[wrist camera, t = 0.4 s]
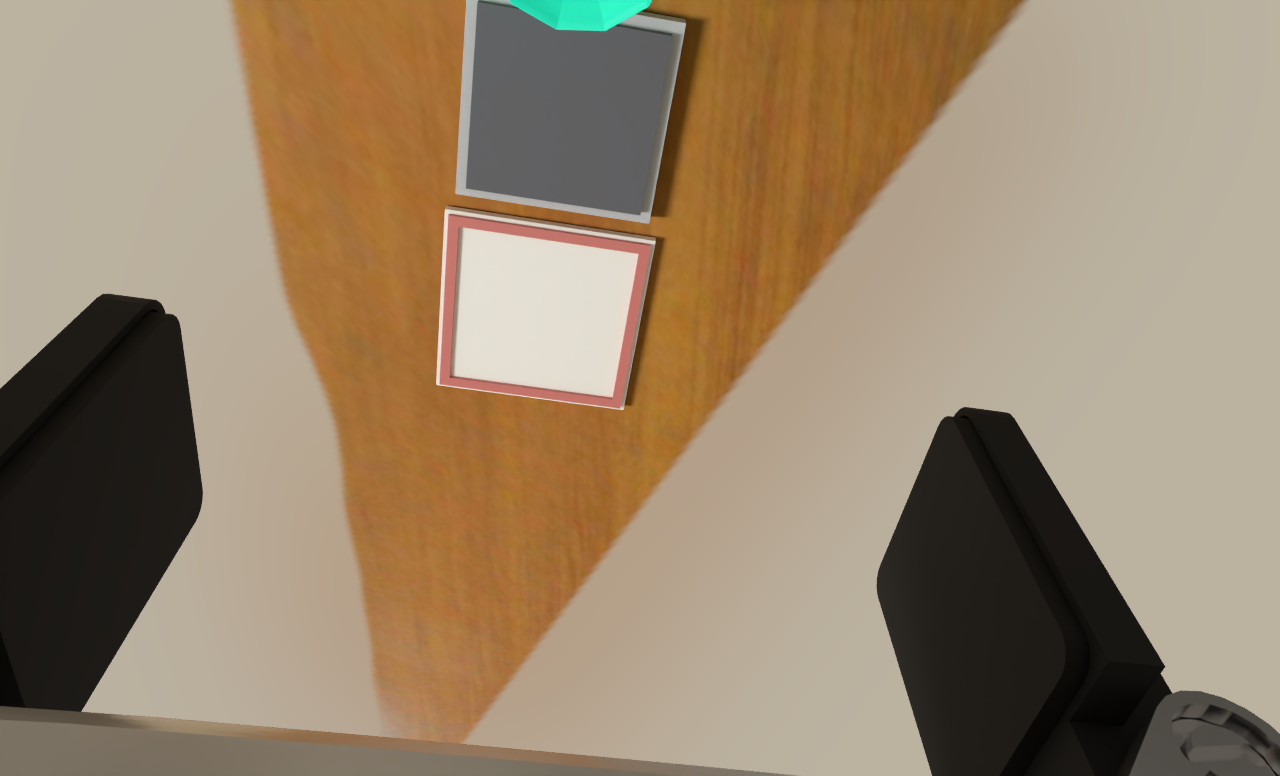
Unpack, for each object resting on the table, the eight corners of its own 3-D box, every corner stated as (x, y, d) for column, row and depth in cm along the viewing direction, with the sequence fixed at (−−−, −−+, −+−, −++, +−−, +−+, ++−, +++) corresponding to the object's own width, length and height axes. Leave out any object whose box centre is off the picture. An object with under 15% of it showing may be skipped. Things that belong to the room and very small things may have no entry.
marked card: (446, 205, 43) (444, 210, 42) (655, 237, 44) (655, 242, 43) (437, 380, 48) (435, 387, 48) (623, 405, 49) (623, 412, 49)
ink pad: (470, -20, 37) (465, -14, 36) (685, 19, 38) (686, 25, 37) (458, 187, 42) (454, 197, 41) (648, 216, 43) (649, 227, 42)
